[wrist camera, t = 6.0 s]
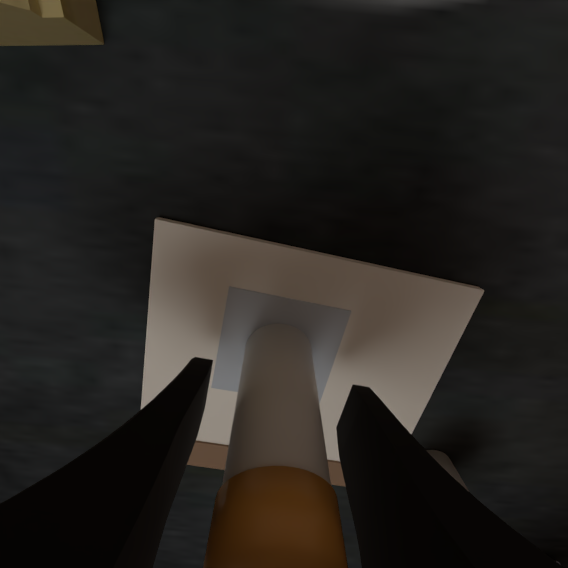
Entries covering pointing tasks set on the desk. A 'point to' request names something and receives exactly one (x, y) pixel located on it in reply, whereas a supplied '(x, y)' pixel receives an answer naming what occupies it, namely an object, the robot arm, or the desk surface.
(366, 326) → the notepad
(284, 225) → the desk surface
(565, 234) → the desk surface
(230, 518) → the orange cap marker
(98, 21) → the figurine on pedestal
